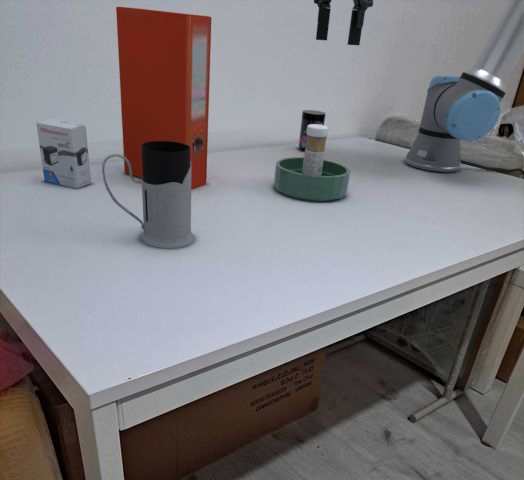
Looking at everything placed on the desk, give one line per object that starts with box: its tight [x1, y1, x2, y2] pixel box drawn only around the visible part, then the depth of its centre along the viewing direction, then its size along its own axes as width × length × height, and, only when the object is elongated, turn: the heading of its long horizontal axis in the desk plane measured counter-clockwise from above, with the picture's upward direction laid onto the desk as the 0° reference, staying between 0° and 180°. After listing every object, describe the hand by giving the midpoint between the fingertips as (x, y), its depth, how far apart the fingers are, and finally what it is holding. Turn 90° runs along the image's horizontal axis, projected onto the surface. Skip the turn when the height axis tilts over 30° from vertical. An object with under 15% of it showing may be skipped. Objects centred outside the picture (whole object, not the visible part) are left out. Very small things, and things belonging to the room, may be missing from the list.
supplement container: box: [298, 109, 327, 152], centre depth 153 cm, size 7×7×10 cm
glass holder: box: [101, 141, 194, 249], centre depth 84 cm, size 9×14×15 cm, turn 107°
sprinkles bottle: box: [302, 124, 329, 176], centre depth 116 cm, size 5×5×14 cm
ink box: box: [35, 118, 92, 189], centre depth 107 cm, size 8×5×12 cm, turn 68°
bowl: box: [273, 156, 352, 202], centre depth 118 cm, size 17×17×6 cm
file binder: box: [115, 6, 212, 190], centre depth 110 cm, size 8×17×32 cm, turn 58°
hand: (336, 42), depth 121 cm, fingers open, 13 cm apart
